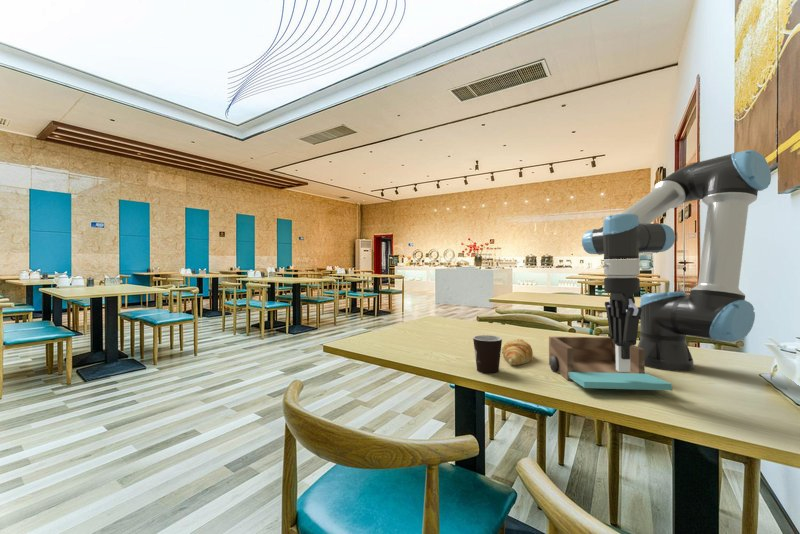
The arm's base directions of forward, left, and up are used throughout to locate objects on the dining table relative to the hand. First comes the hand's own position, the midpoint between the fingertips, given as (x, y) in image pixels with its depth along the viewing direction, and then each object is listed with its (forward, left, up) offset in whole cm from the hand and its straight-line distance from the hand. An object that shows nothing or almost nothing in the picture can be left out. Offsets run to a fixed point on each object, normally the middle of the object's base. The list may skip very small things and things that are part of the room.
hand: (623, 370), depth 87 cm
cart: (0, -16, -6) cm, 17 cm away
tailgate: (0, -7, -4) cm, 8 cm away
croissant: (+19, -30, -6) cm, 36 cm away
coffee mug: (+30, -17, -6) cm, 35 cm away
